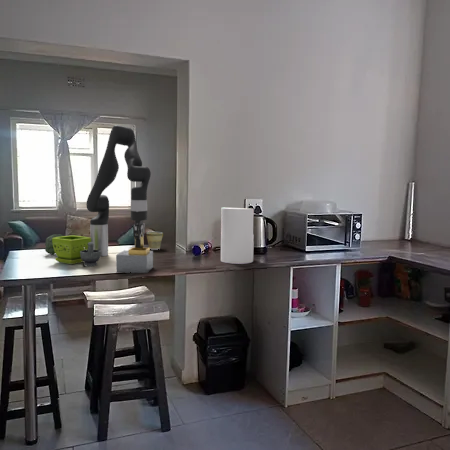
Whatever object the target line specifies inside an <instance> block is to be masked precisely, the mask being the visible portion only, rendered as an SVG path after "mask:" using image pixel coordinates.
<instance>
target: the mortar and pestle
mask: <svg viewBox="0 0 450 450" xmlns="http://www.w3.org/2000/svg"><path fill="white" fill-rule="evenodd" d="M93 245H94V243H93V242H89V243H88V250H83V251H80V255H81V259H82V261H84V262H83V266H84V267H95V266H98V263H97V262H99V260H100V259H101V256H100V255H101V251H100V250H93Z"/></svg>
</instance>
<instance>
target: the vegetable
mask: <svg viewBox="0 0 450 450" xmlns="http://www.w3.org/2000/svg"><path fill="white" fill-rule="evenodd" d="M62 236H64V235H63V234H61V233H59V234H54V233H53V234H52V235H49V236H48V237H46V238H45V249H44V251H45V252H46V253H47V254H49V255H52V256H56V253H55V251H54V248H53V243H52V238H54V237H62ZM61 247H62V246H61ZM58 248H59V247H58ZM64 250H65V248H64Z"/></svg>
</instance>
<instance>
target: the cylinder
mask: <svg viewBox="0 0 450 450" xmlns="http://www.w3.org/2000/svg"><path fill="white" fill-rule="evenodd" d="M220 209H221V211H220V212H221V214H220V217H221V219H220V221H221V222H220V224H221V225H220V262H222V263H226V264H232V265H234V264H237V265H238V264H239V265H240V264H241V265H243V264H250V263H253V262H254V244H255V241H254V237H255V235H254V215H255V214H254V208H249V207H247V208H246V207H245V208H243V207H224V206H223V207H221V208H220Z"/></svg>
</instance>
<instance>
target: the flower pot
mask: <svg viewBox="0 0 450 450" xmlns="http://www.w3.org/2000/svg"><path fill="white" fill-rule="evenodd" d="M89 242H91V236H90V237H89V236H83V235H82V236H81V235H63V236H62V237H54V238H52V243H53V248H54V251H55V256H56V257H55V258H54V259H55V261H56V262H58V263H61V264H66V265H67V264H68V265H74V264H81V263H85V262H84V261H82V259H81V255H80V251H83V250H88V243H89ZM61 246H62V247H61ZM58 247H59V248H58ZM64 248H65V250H64Z"/></svg>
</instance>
